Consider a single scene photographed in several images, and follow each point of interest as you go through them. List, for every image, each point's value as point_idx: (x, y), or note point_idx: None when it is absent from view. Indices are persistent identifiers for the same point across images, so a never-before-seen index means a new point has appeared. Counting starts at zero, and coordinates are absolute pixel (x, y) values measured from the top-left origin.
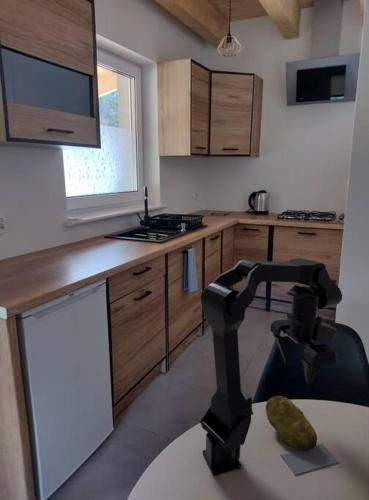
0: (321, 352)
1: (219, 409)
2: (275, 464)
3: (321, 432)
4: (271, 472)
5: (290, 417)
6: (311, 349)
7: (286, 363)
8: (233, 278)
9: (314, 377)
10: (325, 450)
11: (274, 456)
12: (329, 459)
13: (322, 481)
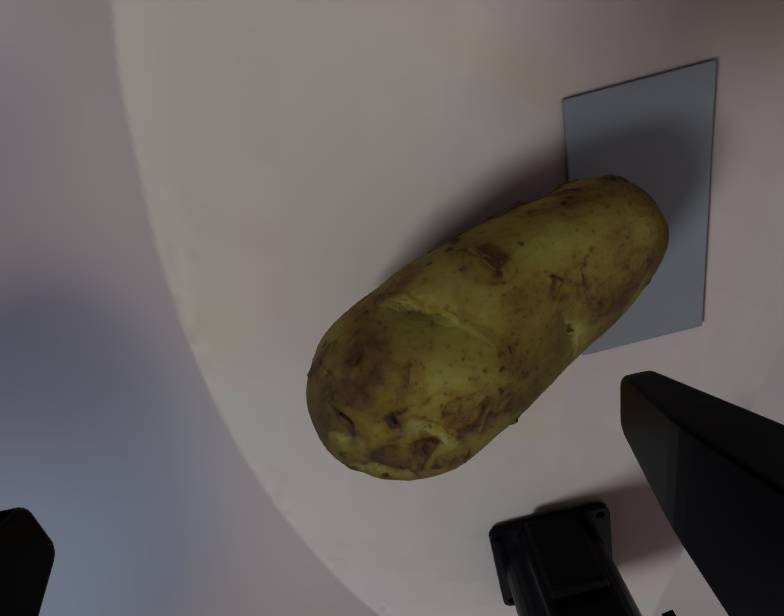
0: None
1: None
2: (619, 384)
3: (458, 47)
4: None
5: (551, 375)
6: None
7: (49, 546)
8: None
9: (780, 438)
10: (617, 105)
11: (577, 377)
12: (683, 115)
13: (771, 215)
